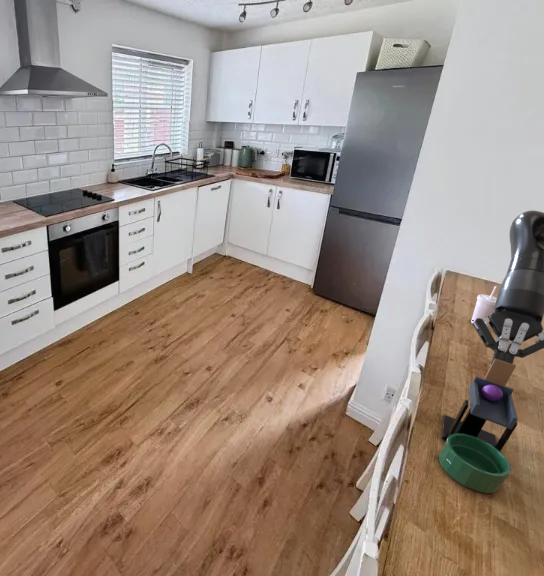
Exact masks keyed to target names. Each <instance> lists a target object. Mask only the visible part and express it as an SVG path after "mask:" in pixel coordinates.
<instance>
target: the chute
mask: <svg viewBox="0 0 544 576" xmlns="http://www.w3.org/2000/svg"><path fill="white" fill-rule="evenodd" d="M516 367H517V365H516V363H515V364H514V363H513V364H511V363H508V362H505V361H502V360H499V359H494V361H493V363H492V365H491V364H490V367H489V369H488V371H487V372H486V374H485V376H484V378H483V377H481V376H478V375H475V376H474V379H473V380H472V382H471V384H470V386H469V388H468V395H469V409H470V410H471V414H472V415H475V416H477V417H480V418H482V419H485V420H486V421H488V422H491V423H493V424H496V425H498V426H500V427H504V428H505V429H506V428H508V429H511V430H512V428H513V426H514V425H515V423H516V421H517V422H518V418H519V417H518V414H517V410H516V407H515V403H514V400H513V399H514V398H513V395H512V394H513V393H514V388H512V387H509V386H507V383H508V382H509V381H510V378H511V376H512V375H513V372H514V371H515V369H516ZM486 385H495V386H497V387H499V388H500V389H501V390H502V392H503V397H502V399H500V400H499V401H489V400H487V399H486V398H484V397H483V395H482V392H481V391H482V388H483V387H484V386H486Z"/></svg>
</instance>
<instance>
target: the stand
mask: <svg viewBox="0 0 544 576" xmlns="http://www.w3.org/2000/svg"><path fill="white" fill-rule="evenodd" d="M468 408H469V400H468V399H465V400H464V401H463V403H462V405H461V407H460V409H459V411H458V413H457V415H456V416H455V418H454V417H452V416H449V415H446V414H444V415H443V417H442V427H441V429H442V430H441V440H443V441H444V443H445V442H446V440H447V438H448V437H449V436H450V435H452V434H456V433H458V434H467V435H471V436H474V437H476V438H479V439H481V440H483V441H485V442H487V443H489V444H490V445H492V446H493V447H495V448H496V449H497V450H499V451H500V452H501V451H502V450H503V448H504V447H505V445H506V443H507V442H508V440H509V439H510V437H511V435H512V434H513V433H514V432H515V429H516V428H517V426H518V420H517V421H516V423H515V425H514V426H513V428H512V430H511V429H508V428H506V427H505V430H504V431H503V433H502V434H501V436H500V437H499V438H498V441H497V439H496V434H494V433H491V432H490V431H487V430H484V429H483V428H484V426H485V424H486V422H487V420H485V419H482V418H480V417H477V416H475V415H472V414H471V410H470V408H469V409H468ZM467 410H468V411H467ZM465 414H466V415H465ZM464 415H465V417H464ZM462 419H463V420H462Z"/></svg>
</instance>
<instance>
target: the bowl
mask: <svg viewBox="0 0 544 576" xmlns="http://www.w3.org/2000/svg"><path fill="white" fill-rule="evenodd" d="M438 461H439V463H440V466H441V467H442V469H443V470H444V471H445V472H446V473H447V474H448V475H449V476H450V477H451V478H452V479H453V480H454V481H456V482H458V483H459V484H461V485H462V486H465V487H467V488H469V489H471V490H473V491H476V492H480V493H484V494H493V493H496V492H498V491H499V490H500V488H501V487H502V485H503V484H504V482H505V481H506V479H507V478H508V476H509V475H510V474H511V471H512V466H511V463H510V461H509V460H508V458H507V457H506V456H505V455H504V454H503V453H502V452H501V451H499V450H497V449H496V448H495V447H493V446H492V445H490V444H489V443H487V442H485V441H483V440H481V439H479V438H476V437H474V436H471V435H467V434H458V433H456V434H452V435H450V436H449V437H448V438H447V440H446V442H445V441H444V444H443V446H442V447H441V449H440V451H439V452H438Z"/></svg>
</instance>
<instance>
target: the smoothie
mask: <svg viewBox="0 0 544 576" xmlns="http://www.w3.org/2000/svg"><path fill="white" fill-rule="evenodd" d="M497 288H498V285H494V288H493V290H492V292H491V294H490V295H489V294H484V293H483V294H482V293H481V294H478V295H477V297H476V303H475V306H474V310H473V313H472V317H471V321H470V324H472V325H473V322H474V321H475V320H476V319H477V318H481V319H484V318H487V317H488V316H489V315H490V314H491V313H492V312H493V309H494V306H495V303H496V300H497V297H496V296H494V295H495V292H496V290H497ZM472 320H474V321H472Z"/></svg>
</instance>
